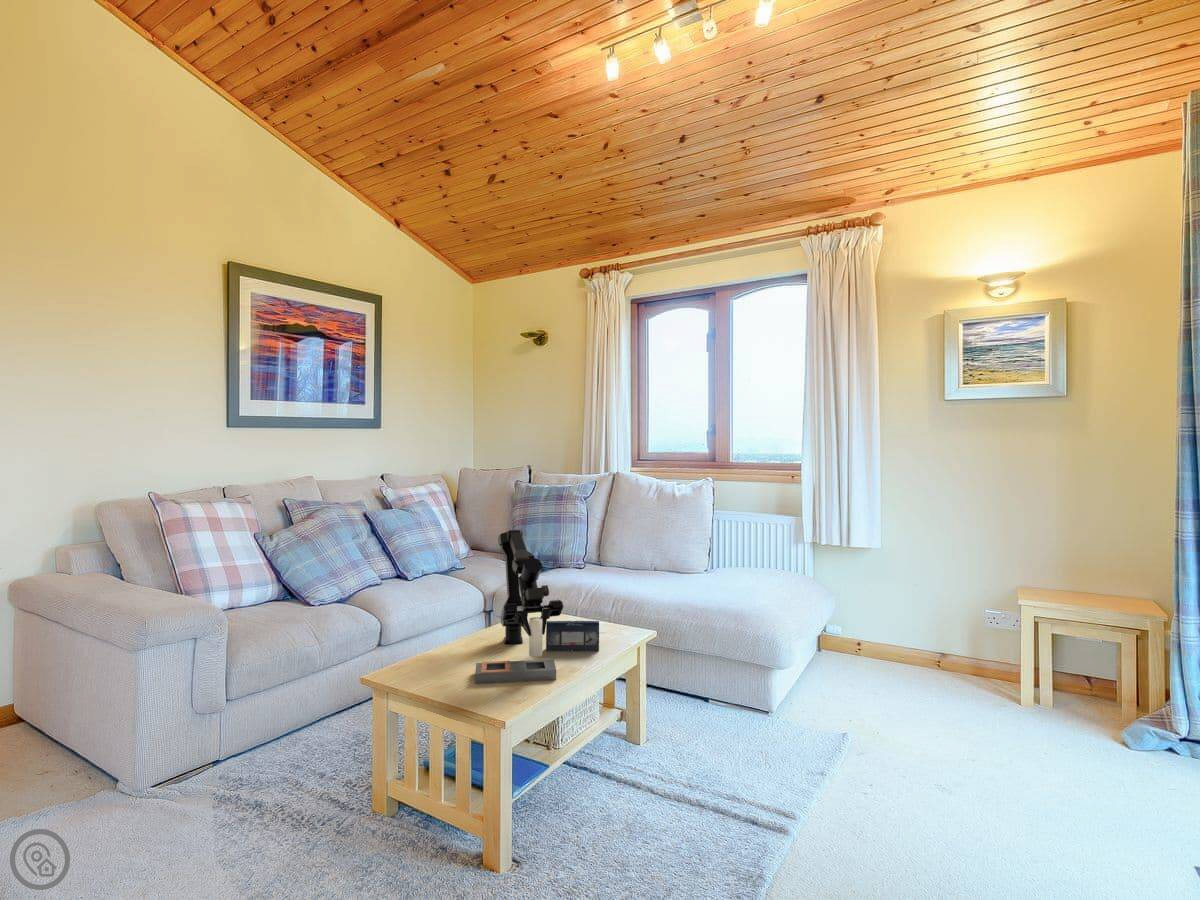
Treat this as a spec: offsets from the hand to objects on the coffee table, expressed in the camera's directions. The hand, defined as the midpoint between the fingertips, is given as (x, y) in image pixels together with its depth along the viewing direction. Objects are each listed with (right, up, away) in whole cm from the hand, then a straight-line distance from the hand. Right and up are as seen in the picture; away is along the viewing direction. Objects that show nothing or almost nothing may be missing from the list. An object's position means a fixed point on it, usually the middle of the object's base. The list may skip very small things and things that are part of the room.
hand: (536, 634), depth 185 cm
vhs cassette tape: (+10, -13, +25) cm, 29 cm away
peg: (-1, -7, +1) cm, 7 cm away
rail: (-7, -13, +1) cm, 14 cm away
